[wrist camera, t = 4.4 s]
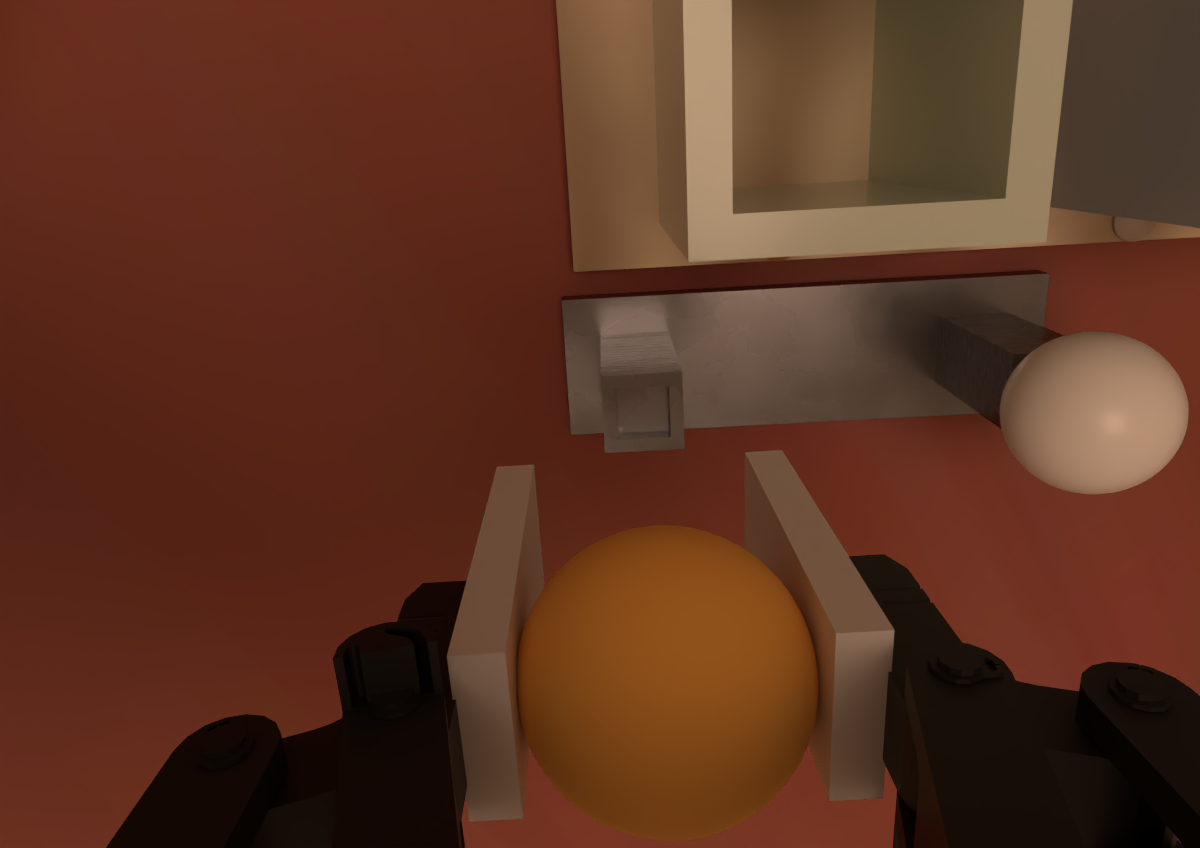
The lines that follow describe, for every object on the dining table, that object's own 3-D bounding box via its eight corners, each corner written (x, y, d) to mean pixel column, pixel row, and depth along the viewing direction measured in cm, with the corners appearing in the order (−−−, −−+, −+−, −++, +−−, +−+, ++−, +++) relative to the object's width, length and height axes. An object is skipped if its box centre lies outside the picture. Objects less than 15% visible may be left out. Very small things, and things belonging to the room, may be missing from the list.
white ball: (967, 463, 26) (1038, 525, 21) (980, 320, 24) (1059, 358, 20) (1113, 455, 25) (1213, 516, 21) (1134, 312, 24) (1245, 348, 20)
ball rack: (571, 427, 32) (564, 495, 26) (562, 296, 30) (553, 335, 24) (1023, 404, 31) (1124, 466, 25) (1038, 270, 30) (1149, 302, 24)
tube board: (574, 267, 30) (573, 272, 29) (552, -84, 26) (549, -94, 25) (1314, 226, 29) (1343, 229, 28) (1390, -137, 26) (1426, -150, 25)
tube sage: (659, 222, 28) (688, 262, 19) (650, -43, 26) (679, -151, 16) (896, 208, 28) (1046, 242, 19) (911, -59, 26) (1092, -178, 16)
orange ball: (536, 710, 15) (517, 927, 11) (515, 487, 14) (484, 640, 10) (778, 696, 15) (852, 908, 11) (782, 471, 14) (868, 617, 10)
